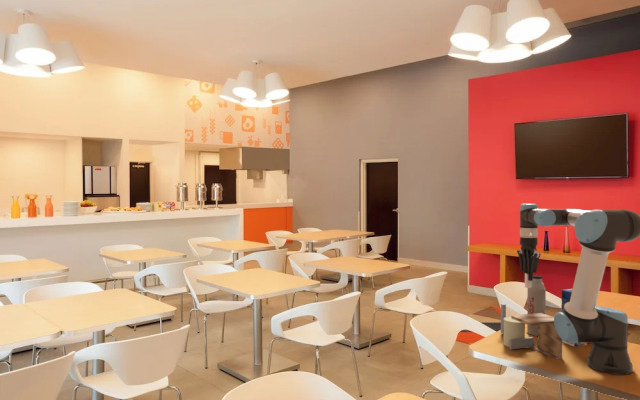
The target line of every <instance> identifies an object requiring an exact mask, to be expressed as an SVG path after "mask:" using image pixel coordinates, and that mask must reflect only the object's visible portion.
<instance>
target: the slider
mask: <svg viewBox="0 0 640 400" xmlns="http://www.w3.org/2000/svg"><path fill="white" fill-rule="evenodd" d="M506 314H507V305H506V304H505V303H501V304H500V334H502V335H503V334H504V318H505V317H507V315H506ZM535 345H536V342H535V337H533V336H529V337H526V336H525V338H517V339H509V347H508V348H509V350H516V349H517V350H518V349H525V348H526V349H527V348H531V347H536V346H535Z"/></svg>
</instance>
